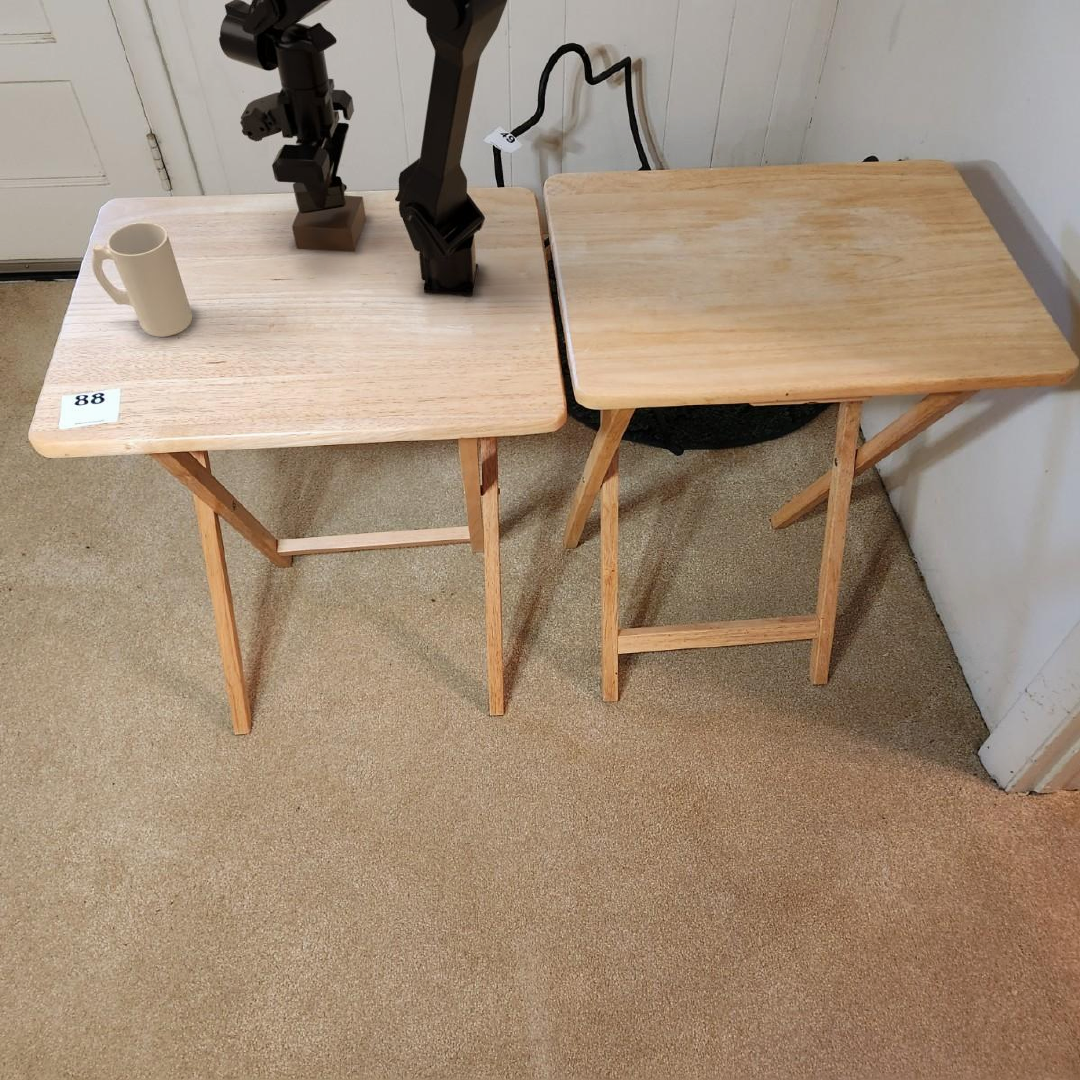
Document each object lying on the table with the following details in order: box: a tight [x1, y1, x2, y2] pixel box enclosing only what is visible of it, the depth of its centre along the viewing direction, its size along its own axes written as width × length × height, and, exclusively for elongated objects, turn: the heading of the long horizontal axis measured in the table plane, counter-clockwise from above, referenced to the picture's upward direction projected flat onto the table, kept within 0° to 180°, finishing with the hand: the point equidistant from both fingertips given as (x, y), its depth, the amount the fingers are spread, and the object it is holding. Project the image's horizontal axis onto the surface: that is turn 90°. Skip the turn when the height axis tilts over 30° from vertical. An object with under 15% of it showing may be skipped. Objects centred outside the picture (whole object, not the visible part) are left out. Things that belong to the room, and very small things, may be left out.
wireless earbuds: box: [292, 175, 348, 213], centre depth 130 cm, size 5×7×3 cm, turn 108°
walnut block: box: [291, 195, 367, 253], centre depth 133 cm, size 8×8×4 cm
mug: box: [91, 221, 193, 338], centre depth 118 cm, size 10×7×12 cm, turn 89°
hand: (325, 195), depth 130 cm, fingers closed on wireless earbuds, 5 cm apart
